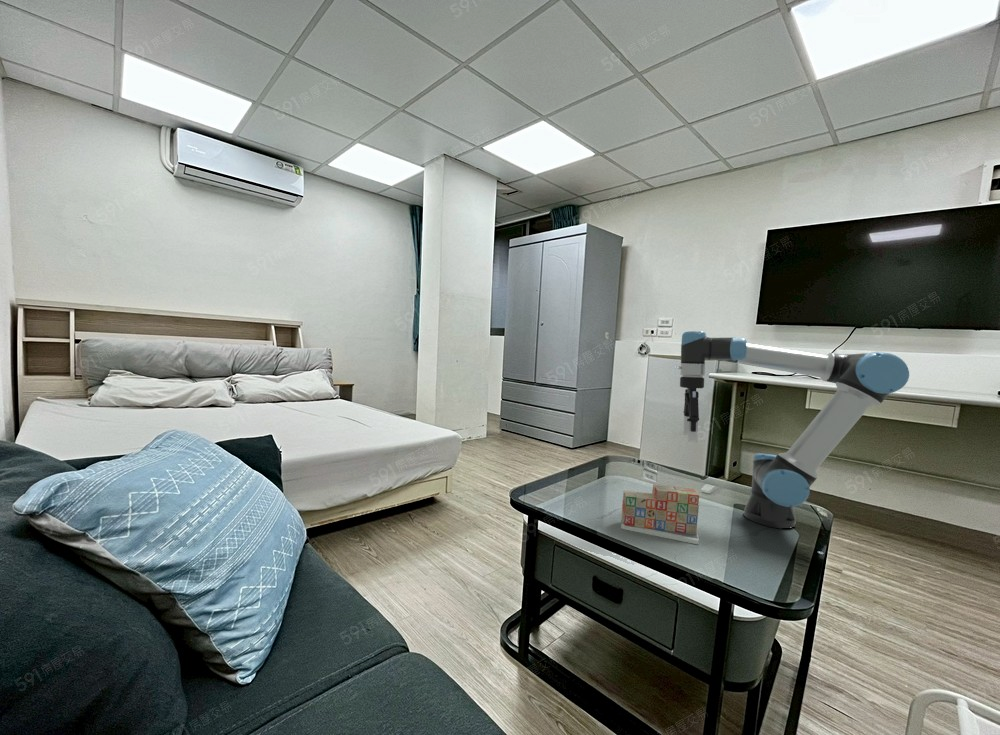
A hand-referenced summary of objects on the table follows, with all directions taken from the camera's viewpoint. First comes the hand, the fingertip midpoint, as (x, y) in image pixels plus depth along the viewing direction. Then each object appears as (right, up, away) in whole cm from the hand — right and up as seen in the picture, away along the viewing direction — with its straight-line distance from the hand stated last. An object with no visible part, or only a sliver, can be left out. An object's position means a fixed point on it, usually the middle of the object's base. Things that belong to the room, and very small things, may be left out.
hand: (689, 437), depth 139 cm
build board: (-16, -27, -12) cm, 33 cm away
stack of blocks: (-16, -26, -12) cm, 33 cm away
